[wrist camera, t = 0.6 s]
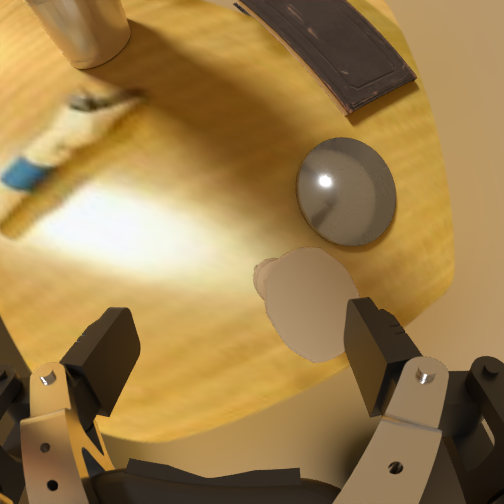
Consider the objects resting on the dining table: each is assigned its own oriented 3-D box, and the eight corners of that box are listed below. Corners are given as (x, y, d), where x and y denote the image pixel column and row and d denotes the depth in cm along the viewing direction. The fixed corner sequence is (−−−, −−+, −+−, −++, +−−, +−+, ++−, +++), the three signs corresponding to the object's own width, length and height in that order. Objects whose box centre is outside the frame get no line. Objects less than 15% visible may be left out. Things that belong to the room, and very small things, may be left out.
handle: (272, 235, 29) (327, 230, 14) (302, 288, 30) (375, 329, 15) (231, 260, 29) (246, 280, 14) (262, 313, 29) (305, 377, 15)
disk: (294, 135, 29) (297, 131, 28) (386, 148, 31) (391, 145, 29) (296, 245, 30) (299, 245, 28) (391, 246, 31) (397, 246, 30)
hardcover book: (341, 120, 30) (349, 113, 28) (232, 4, 28) (234, -6, 26) (411, 82, 32) (419, 76, 29) (314, -16, 29) (318, -25, 27)
